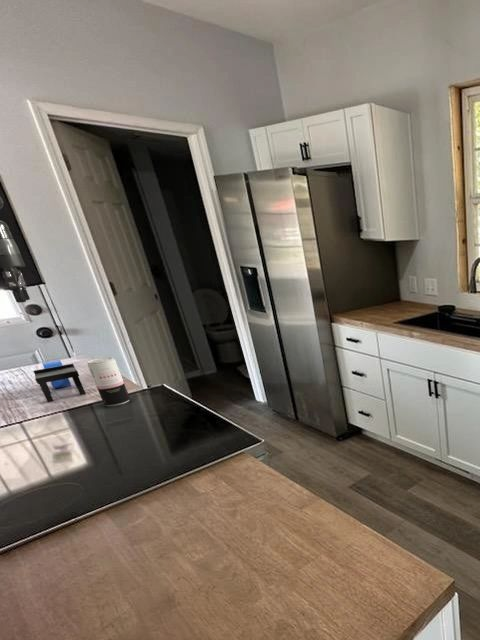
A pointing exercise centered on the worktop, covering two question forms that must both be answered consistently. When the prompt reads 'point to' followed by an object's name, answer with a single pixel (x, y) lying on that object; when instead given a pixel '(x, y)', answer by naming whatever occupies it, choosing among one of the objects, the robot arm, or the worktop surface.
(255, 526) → the worktop surface
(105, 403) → the beverage can
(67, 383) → the tape roll
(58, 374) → the tape rack
